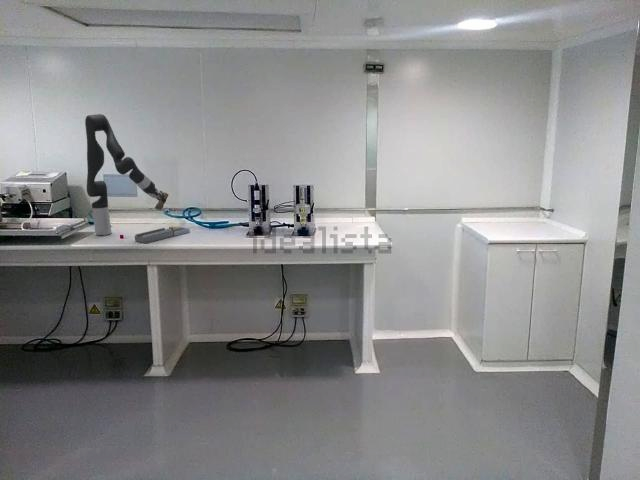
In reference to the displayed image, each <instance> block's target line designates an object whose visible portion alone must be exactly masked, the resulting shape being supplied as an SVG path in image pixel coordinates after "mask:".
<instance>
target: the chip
mask: <svg viewBox="0 0 640 480" xmlns="http://www.w3.org/2000/svg"><path fill="white" fill-rule="evenodd" d="M168 229H172V231H173V232H176V231H177V226H173V225H171V226H169V227H168Z"/></svg>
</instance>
